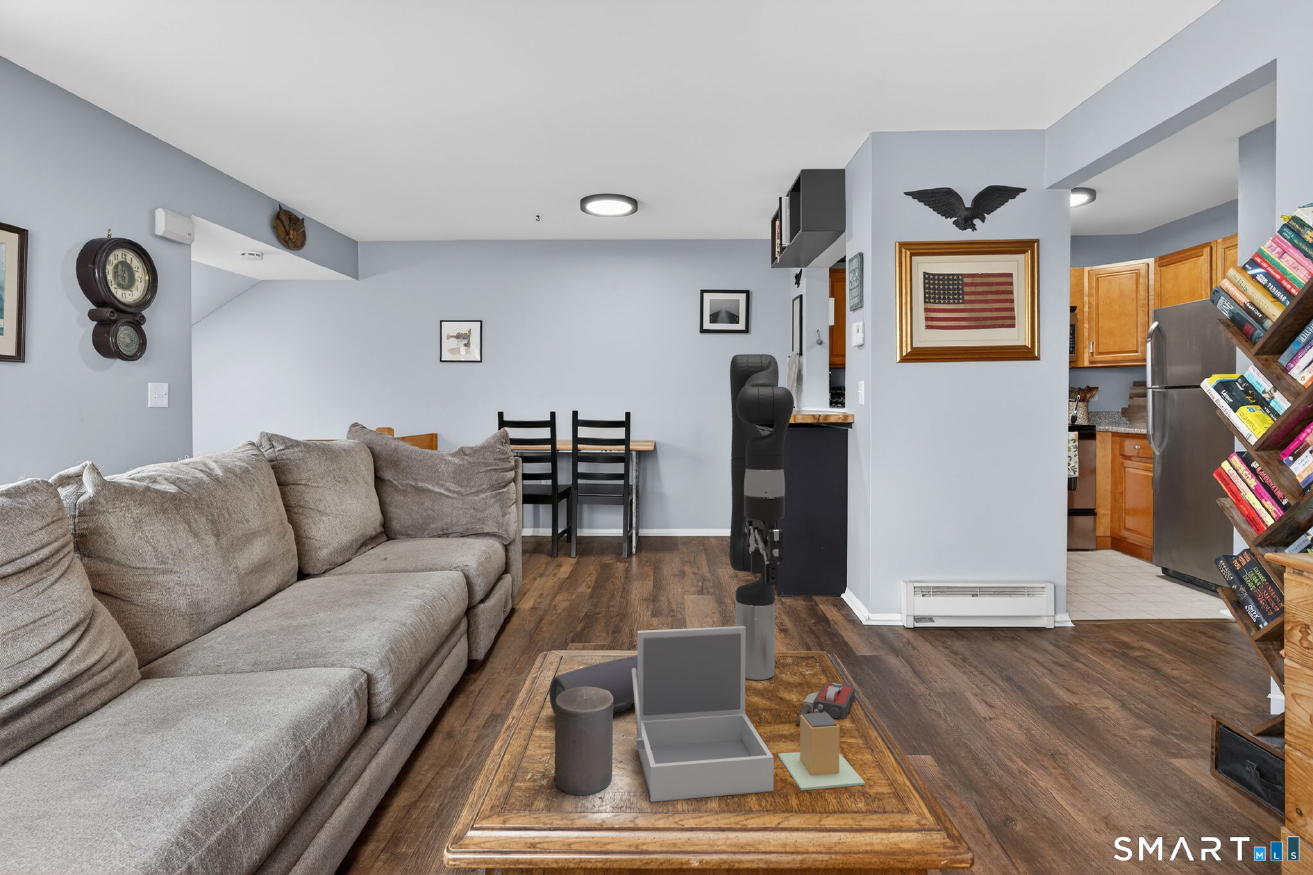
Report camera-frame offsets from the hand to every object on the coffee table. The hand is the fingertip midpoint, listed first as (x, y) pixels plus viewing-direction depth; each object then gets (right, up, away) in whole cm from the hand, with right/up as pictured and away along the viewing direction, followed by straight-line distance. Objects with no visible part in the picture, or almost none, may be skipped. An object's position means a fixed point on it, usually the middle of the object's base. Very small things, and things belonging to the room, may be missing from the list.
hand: (763, 578), depth 122 cm
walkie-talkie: (+15, -30, +12) cm, 36 cm away
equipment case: (-13, -30, -11) cm, 35 cm away
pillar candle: (-32, -31, -14) cm, 47 cm away
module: (+8, -30, -11) cm, 33 cm away
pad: (+8, -30, -11) cm, 33 cm away
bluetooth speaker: (-30, -30, +11) cm, 44 cm away
